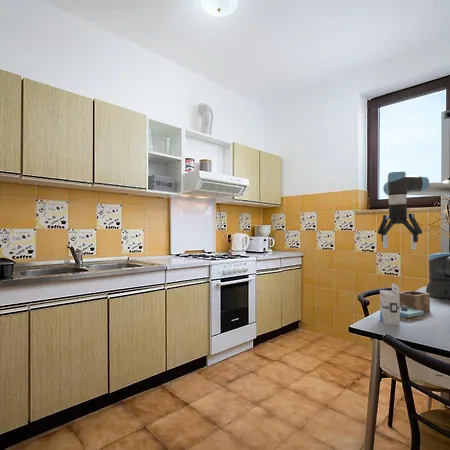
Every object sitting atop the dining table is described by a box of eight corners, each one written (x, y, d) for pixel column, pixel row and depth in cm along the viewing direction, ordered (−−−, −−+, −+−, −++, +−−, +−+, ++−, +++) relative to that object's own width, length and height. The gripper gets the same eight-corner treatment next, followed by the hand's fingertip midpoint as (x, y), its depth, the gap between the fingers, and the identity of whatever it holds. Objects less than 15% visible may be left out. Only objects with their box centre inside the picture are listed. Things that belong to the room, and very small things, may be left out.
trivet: (400, 312, 134) (400, 311, 134) (421, 317, 126) (421, 316, 126) (387, 315, 130) (387, 314, 130) (408, 320, 122) (408, 319, 122)
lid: (400, 311, 135) (400, 302, 135) (423, 316, 126) (423, 307, 126) (385, 314, 130) (385, 304, 130) (408, 320, 122) (408, 310, 122)
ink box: (379, 318, 125) (379, 282, 126) (392, 319, 124) (392, 282, 125) (386, 325, 117) (385, 286, 117) (400, 326, 116) (399, 286, 116)
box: (411, 307, 142) (411, 290, 142) (429, 311, 135) (429, 293, 135) (398, 310, 137) (397, 292, 138) (416, 315, 130) (415, 296, 130)
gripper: (369, 206, 156) (370, 248, 156) (420, 201, 134) (422, 250, 134) (378, 206, 160) (379, 247, 159) (429, 201, 138) (431, 249, 138)
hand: (399, 249), depth 147 cm, fingers open, 13 cm apart
